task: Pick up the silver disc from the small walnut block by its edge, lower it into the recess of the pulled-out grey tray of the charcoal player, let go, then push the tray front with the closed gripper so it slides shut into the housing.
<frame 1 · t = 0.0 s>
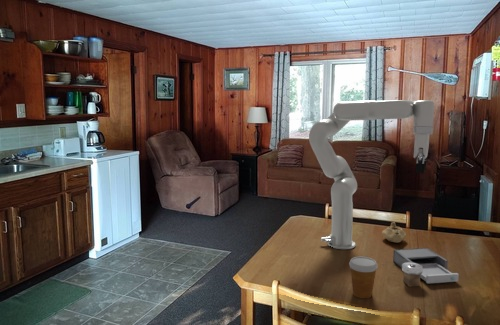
hand: (420, 171, 167), 37 cm above the table, tool pointing down, fingers open, 9 cm apart
silver disc: (412, 270, 145), point 5 cm above the table, touching walnut block
disposable coffee cup: (362, 294, 139), on the table
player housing: (419, 266, 161), on the table
walnut block: (411, 283, 146), on the table
oil lamp: (394, 241, 191), on the table
tray: (432, 271, 152), point 2 cm above the table, slide at 8.0 cm
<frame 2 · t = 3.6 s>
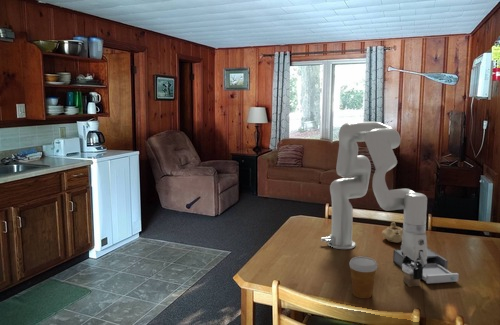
hand: (412, 274, 146), 4 cm above the table, tool pointing down, fingers closed on silver disc, 7 cm apart
silver disc: (412, 270, 145), point 5 cm above the table, touching gripper, walnut block
everything else where it was.
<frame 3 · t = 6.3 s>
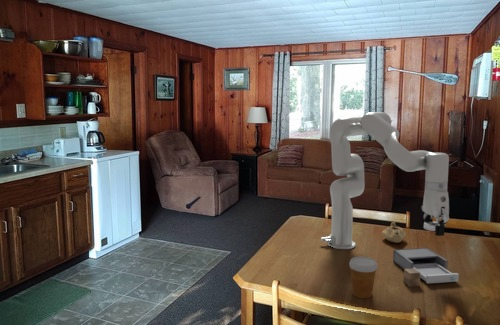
hand: (433, 231, 150), 17 cm above the table, tool pointing down, fingers closed on silver disc, 7 cm apart
silver disc: (433, 228, 150), point 19 cm above the table, touching gripper
everything else where it was.
when the fingers open (2 cm above the table, at t = 9.1 s): silver disc drops 2 cm, resting on tray.
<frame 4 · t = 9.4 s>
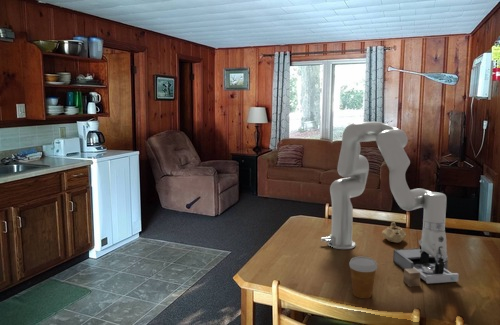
hand: (431, 268, 152), 3 cm above the table, tool pointing down, fingers open, 9 cm apart
silver disc: (431, 271, 153), point 1 cm above the table, touching tray
tray: (432, 271, 152), point 2 cm above the table, slide at 8.0 cm, touching silver disc
everything else where it was.
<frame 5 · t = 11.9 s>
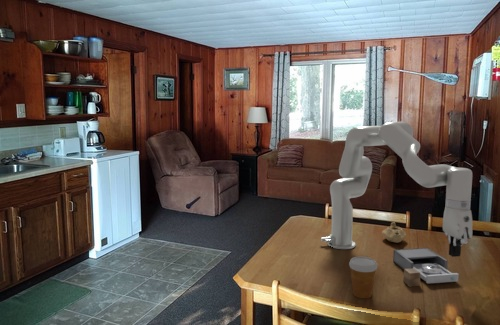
hand: (454, 255, 138), 13 cm above the table, tool pointing down, fingers closed
nothing on the table moved.
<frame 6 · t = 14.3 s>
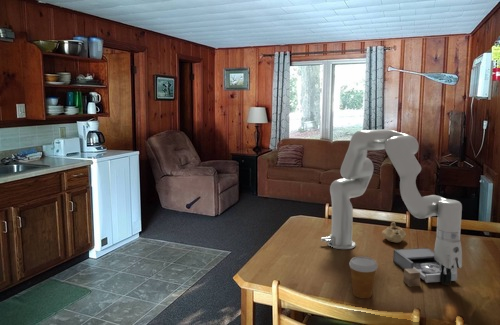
hand: (445, 283, 144), 1 cm above the table, tool pointing down, fingers closed
tray: (431, 270, 152), point 2 cm above the table, slide at 7.2 cm, touching gripper, silver disc
everything else where it was.
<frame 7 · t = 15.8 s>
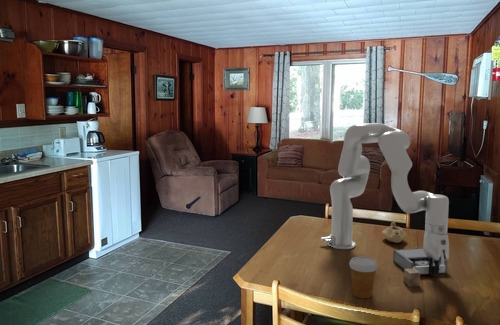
hand: (433, 274, 151), 1 cm above the table, tool pointing down, fingers closed
silver disc: (419, 263, 161), point 1 cm above the table, touching tray
tray: (421, 263, 159), point 2 cm above the table, slide at 0.0 cm, touching gripper, silver disc
everything else where it was.
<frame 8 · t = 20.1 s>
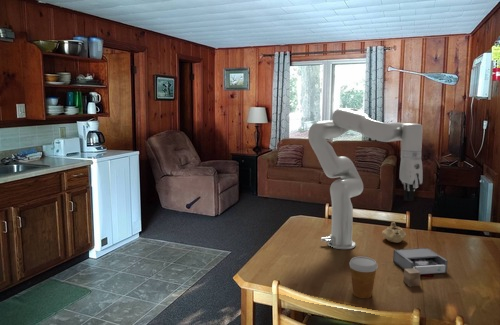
hand: (408, 200, 160), 27 cm above the table, tool pointing down, fingers closed
tray: (421, 263, 159), point 2 cm above the table, slide at 0.0 cm, touching silver disc
everything else where it was.
at the end: tray slide at 0.0 cm; silver disc inside the target area on the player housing (0.2 cm from its centre), point 1.5 cm above the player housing's base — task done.
